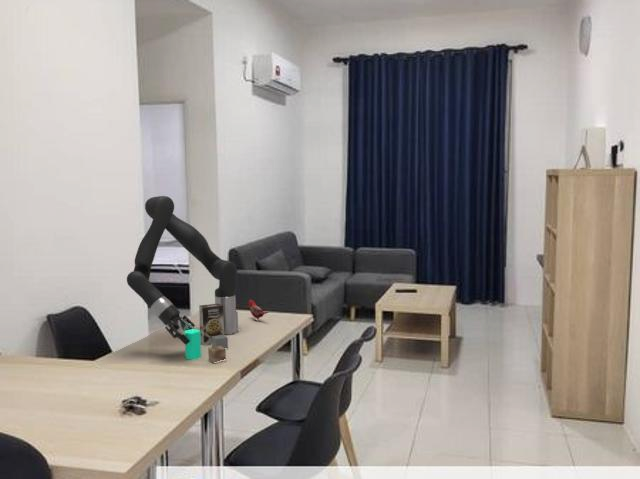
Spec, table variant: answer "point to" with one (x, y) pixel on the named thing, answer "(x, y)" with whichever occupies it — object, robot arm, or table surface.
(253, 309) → the decorative bird figurine
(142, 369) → the table surface
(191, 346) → the candle
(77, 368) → the table surface
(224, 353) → the walnut block
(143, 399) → the table surface
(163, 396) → the table surface
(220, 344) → the gray cube
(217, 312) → the coffee box
